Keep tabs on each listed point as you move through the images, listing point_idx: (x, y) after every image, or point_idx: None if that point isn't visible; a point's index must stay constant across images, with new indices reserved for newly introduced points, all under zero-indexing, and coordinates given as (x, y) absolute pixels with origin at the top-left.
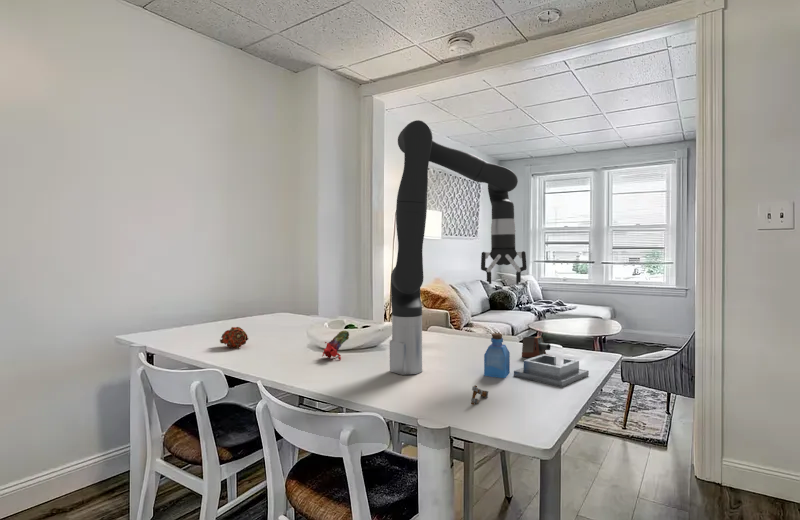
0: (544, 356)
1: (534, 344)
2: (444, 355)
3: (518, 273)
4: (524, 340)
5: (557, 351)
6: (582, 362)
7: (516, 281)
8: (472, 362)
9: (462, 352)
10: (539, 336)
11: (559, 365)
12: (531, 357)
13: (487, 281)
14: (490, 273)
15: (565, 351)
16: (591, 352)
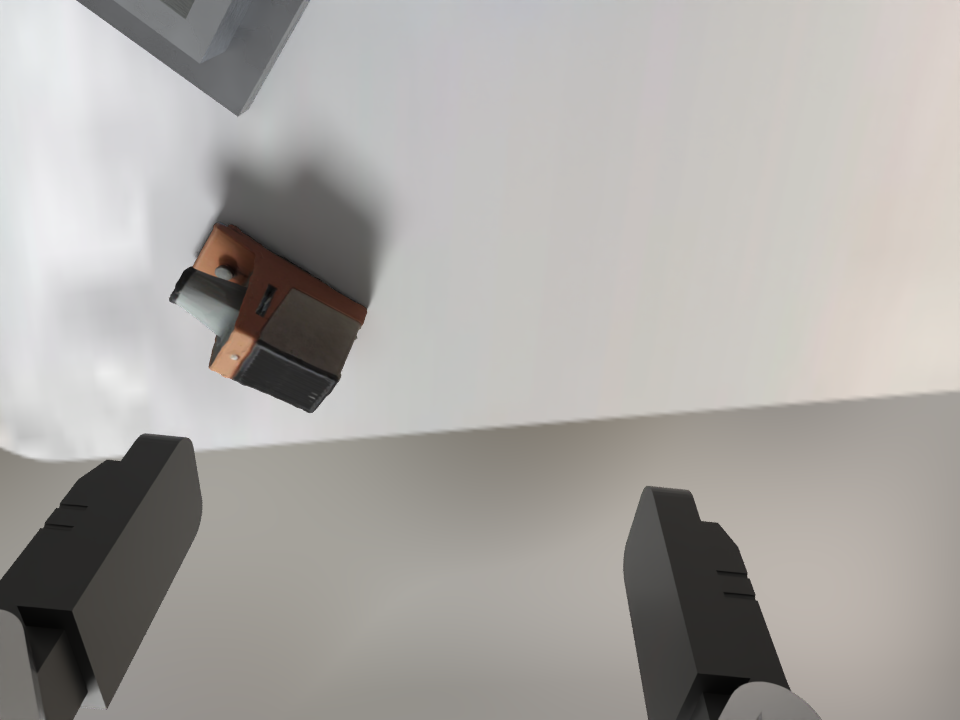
0: (191, 12)
1: (269, 308)
2: (833, 299)
3: (36, 602)
4: (329, 361)
5: None
6: (30, 229)
7: (163, 459)
8: (683, 146)
9: (704, 376)
10: (225, 377)
11: (120, 13)
12: (311, 276)
13: (720, 530)
14: (703, 654)
15: None
16: (17, 434)
